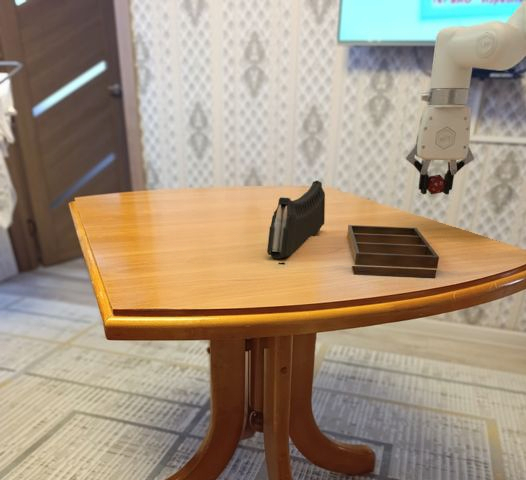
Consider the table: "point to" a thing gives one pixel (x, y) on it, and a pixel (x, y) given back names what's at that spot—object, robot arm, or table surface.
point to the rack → (391, 251)
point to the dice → (436, 184)
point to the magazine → (296, 222)
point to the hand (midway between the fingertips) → (434, 192)
